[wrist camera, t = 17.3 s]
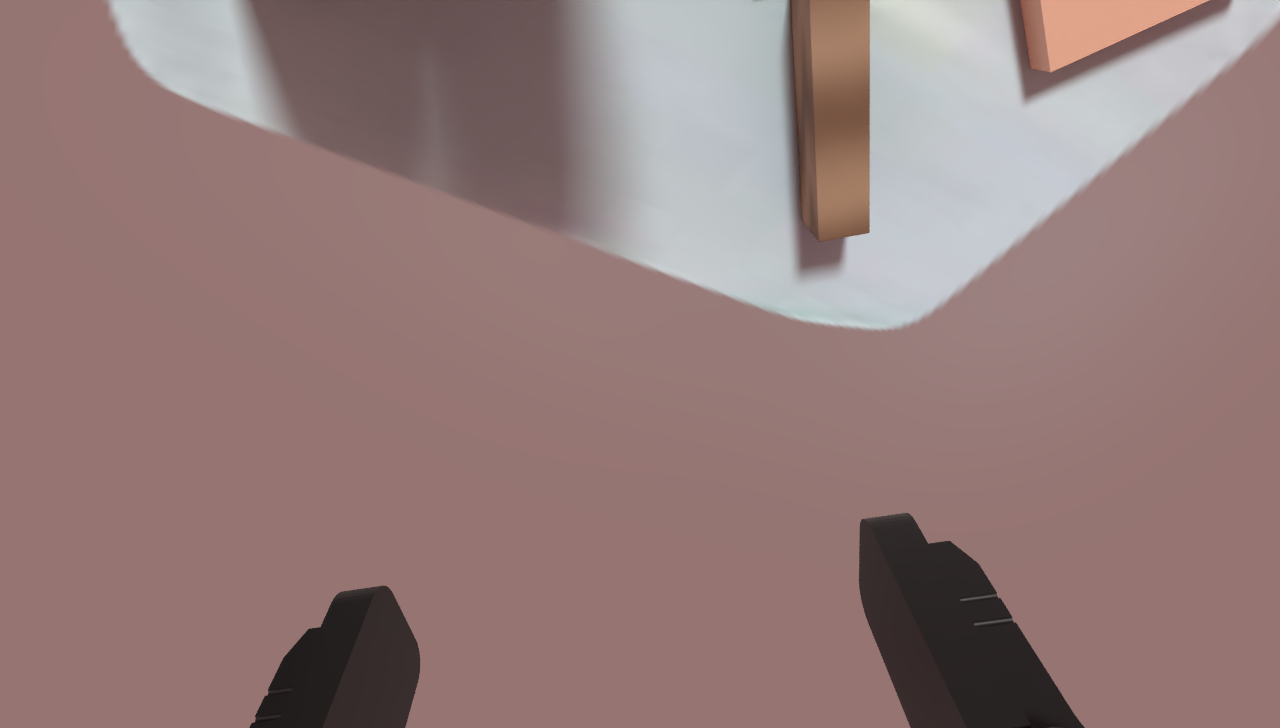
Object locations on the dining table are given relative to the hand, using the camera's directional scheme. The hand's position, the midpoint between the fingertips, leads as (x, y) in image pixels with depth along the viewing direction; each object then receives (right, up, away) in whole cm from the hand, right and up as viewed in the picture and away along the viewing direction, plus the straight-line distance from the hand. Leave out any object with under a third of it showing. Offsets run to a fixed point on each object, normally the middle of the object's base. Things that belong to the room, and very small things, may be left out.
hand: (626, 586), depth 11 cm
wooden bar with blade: (+9, +20, +22) cm, 31 cm away
